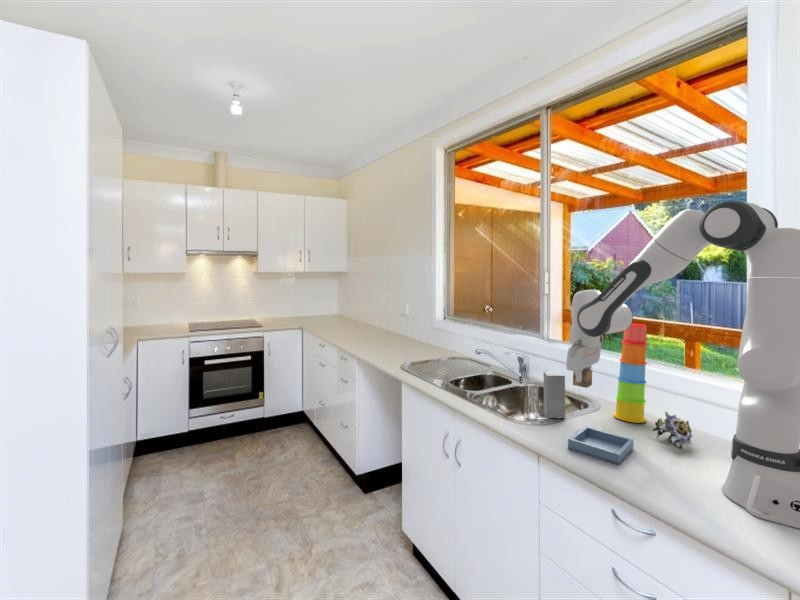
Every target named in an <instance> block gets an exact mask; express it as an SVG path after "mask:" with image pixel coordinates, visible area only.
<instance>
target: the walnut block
mask: <svg viewBox="0 0 800 600" xmlns="http://www.w3.org/2000/svg"><path fill="white" fill-rule="evenodd" d="M572 372H573V374H572V385H573V386H576V387H581V388H586V389H587V388H589V387H591V386H592V383H593V370H592V369H591V370H588V369H583V372H582V376H583V381H582V382H577V381H576V376H575V372H574V371H572Z"/></svg>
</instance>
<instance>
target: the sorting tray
mask: <svg viewBox="0 0 800 600" xmlns="http://www.w3.org/2000/svg"><path fill="white" fill-rule="evenodd" d="M567 449H568V450H570V451H575V452H578V453H580V454H583V455H586V456H589V457H592V458H595V459H598V460H602V461H604V462H607V463H610V464H614V465H617V466H620V465H621V464H622V462H624V460H626V458H627V457H628V456H629V455H630V454H631V452H632V451H633V450H634V439H632V438H630V437H625V436H621V435H619V434H615V433H612V432H608V431H605V430H601V429H597V428H594V427H590V426H586V425H585V426H583V427H582V428H581V429H579V430H578V431H576V432H575V433H574V434H573V435H572V436H570V437H569V438H568V441H567Z"/></svg>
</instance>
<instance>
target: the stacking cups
mask: <svg viewBox="0 0 800 600" xmlns="http://www.w3.org/2000/svg"><path fill="white" fill-rule="evenodd" d="M647 329H648V327H647V325H646V324H643V323H633V322H632V324H631V325H630V327H629V328H628V329H626V330H624V331H623V340H621V344H622V346H621V354H620V355H621V358H619V359H618V360H619V362H620V364H619V375H618V377H617V380H618V383H617V394H615V396H614V397H615V399H616V403H615V404H616V405H615V407H616V408H615V412H614V413H613V417H614V418H616V419H618V420H621V421H624V422H628V423H633V424H634V423H635V424H640V423H645V422H646V421H647V418H646V417H645V404H646V403H647V399H645V391H646V390H645V389H646V384H647V380H646V366H647V364H648V362H647V361H646V355H647V354H646V353H647V346H648V343H647V334H648V333H647V331H648V330H647Z"/></svg>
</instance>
